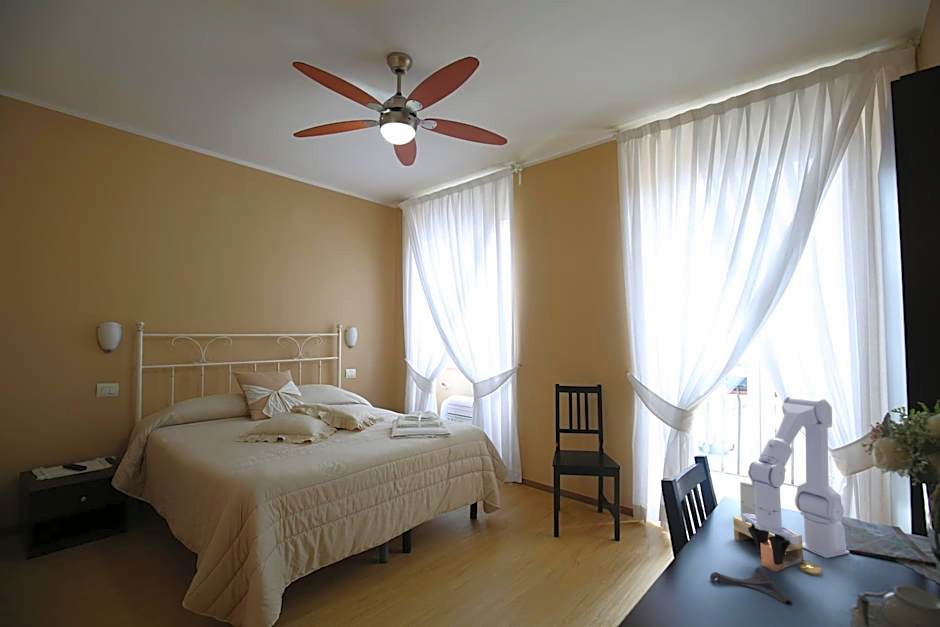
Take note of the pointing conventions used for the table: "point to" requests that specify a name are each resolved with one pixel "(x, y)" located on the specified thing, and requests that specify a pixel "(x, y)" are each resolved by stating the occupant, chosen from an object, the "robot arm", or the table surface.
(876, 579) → the table surface
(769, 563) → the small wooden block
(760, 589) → the bracket
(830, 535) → the robot arm
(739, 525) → the wooden plank block
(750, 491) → the skincare box
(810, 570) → the token
